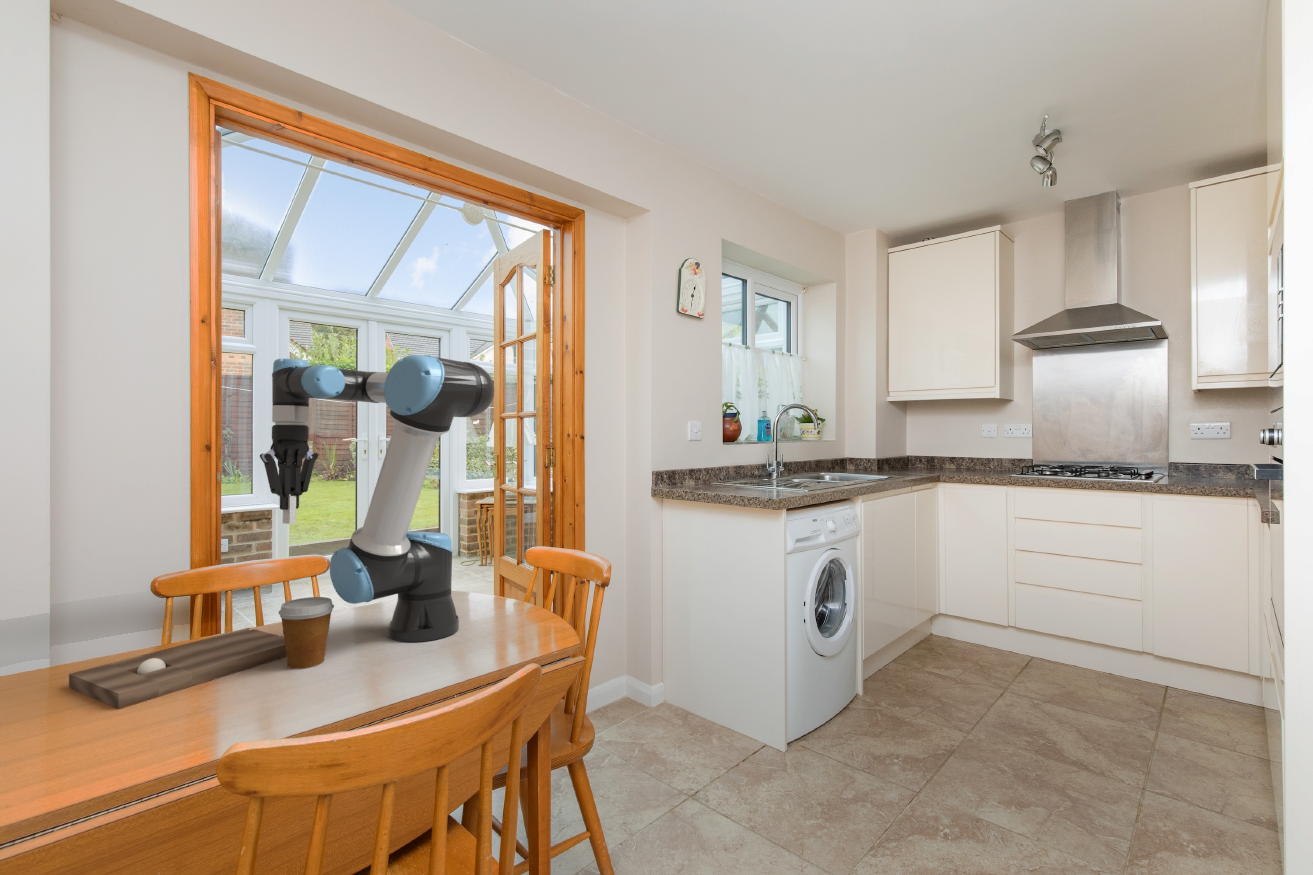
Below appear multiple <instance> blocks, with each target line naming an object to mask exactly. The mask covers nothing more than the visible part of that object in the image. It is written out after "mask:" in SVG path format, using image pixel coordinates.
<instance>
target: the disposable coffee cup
mask: <svg viewBox="0 0 1313 875" xmlns="http://www.w3.org/2000/svg"><path fill="white" fill-rule="evenodd" d="M334 608H335V605H334V604H333V601H332V599H331V598H329V597H325V596H311V597H302V598H296V599H292V600H288V601H286V602H283V603H282V604H281V606H280V610H279V611H278V615H279V617H280V618H281V624H282V625H281V626H282V633H283V634H282V635H283V637H284V642H285V650H286V657H285V658H286V665H287V668H290V669H294V668H301V669H307V668H313V667H316V666H319V665H321V664H322V663H324V662H325V658H326V657H325V656H326V649H327V645H328V644H327V642H328V638H329V637H328V636H329V630H330V624H331V623H330V622H331V616H332V612H333V609H334ZM312 666H313V667H312Z"/></svg>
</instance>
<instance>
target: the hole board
mask: <svg viewBox="0 0 1313 875" xmlns="http://www.w3.org/2000/svg"><path fill="white" fill-rule="evenodd" d="M249 629H253V630H249ZM152 658H157V659H161V660H162V661H163V662H164V663H165V665H166V668H163V669H160V670H156V671H152V672H149V673H145V674H142V675H138V674H137V670H138V668H139V666H140V665H141V664H142V663H143V662H144V661H146V660H148V659H152ZM282 658H287V657H286V650H285V642H284V635H283V636H282V635H279V634H275V633H271V632H266V631H262V630H259V629H255V628H250V627H247V628H241V629H239V630H235V631H231V632H230V631H229V632H227V633H223V634H219V635H216V636H211V637H207V638H203V639H201V640H196V641H191V642H188V643H185V644H180V645H176V646H172V647H169V648H165V649H161V650H157V651H153V652H149V653H145V654H141V655H138V656H134V657H130V658H126V659H122V660H118V661H117V660H116V661H113V662H109V663H105V664H103V665H99V666H95V667H91V668H87V669H86V668H85V669H83V670H79V671H76V672H72V673H71V672H70V673H68V689H70V690H73V691H75V692H77V693H80V694H83V695H84V696H86V697H89V698H91V699H93V700H96V701H98V702H101V703H103V704H105V705H108V706H110V707H112V708H115V709H117V710H121V709H124V708H126V707H130V706H133V705H136V704H140V703H142V702H147V701H149V700H151V699H154V698H158V697H161V696H164V695H168V694H171V693H174V692H177V691H180V690H184V689H187V688H190V687H193V685H194V686H197V685H200V684H203V683H206V682H210V681H213V680H216V679H220V678H222V677H225V676H229V675H231V674H234V673H238V672H240V671H245V670H247V669H251V668H254V667H256V666H257V665H258V666H261V665H264V664H267V663H270V662H274V661H277V660H279V659H282ZM260 664H261V665H260ZM215 678H216V679H215ZM209 680H210V681H209Z"/></svg>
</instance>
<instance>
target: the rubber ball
mask: <svg viewBox="0 0 1313 875" xmlns="http://www.w3.org/2000/svg"><path fill="white" fill-rule="evenodd" d="M163 668H166V665H165V663H164V662H163V661H162V660H161V659H157V658H152V659H148V660H146V661H144V662H143V663H142V664H141V665H140V666H139V668H138V670H137V674H138V675H142V674H145V673H149V672H152V671H156V670H160V669H163Z"/></svg>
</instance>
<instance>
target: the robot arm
mask: <svg viewBox="0 0 1313 875" xmlns="http://www.w3.org/2000/svg"><path fill="white" fill-rule="evenodd" d="M272 365H273V366H272V373H271V377H272V378H271V380H272V385H271V386H272V388H271V389H272V392H271V393H272V395H271V396H272V397H271V398H272V405H271V406H272V407H271V408H272V414H271V421H272V423H273V425H272V426H271V440H272V444H271V445H270V449H269V450H268V451H266V452H265V453H261V454H260V455H259V458H260V459H261V461H262V462H263V466H264V469H265V472H266V477H267V481H268V486H269V489H270V493H271V494H273V495H277V496H279V509H280V510H282V524H286V525H291V524H296V523H297V510H299V508H300V496H302V495H303V493H306V492H308V490H309V486H310V482H311V480H312V479H311V478H312V474H313V471H314V466H315V463H316V461H317V460H318V458H319V454H318V453H317V452H313V451H311V449H310V446H309V444H308V441H309V439H310V438H309V436H310V435H309V430H310V428H309V426H308V425H307V424H309V423H310V399H312V400H313V399H316V400H317V399H320V400H321V399H322V400H332V401H333V400H335V401H337V400H338V401H347V402H348V401H350V402H351V401H352V402H363V403H370V404H371V403H372V404H379V403H380V404H381V403H382V404H386V406H387V407H388V408H389V409H390V412H389V416H390V418H391V420H392V421H393V423H394V425H393V428H392V429H393V430H392V432H391V435H390V439H389V442H388V446H387V449H386V452H385V455H384V458H383V462H382V465H381V468H380V471H379V474H378V477H377V480H376V484H375V487H374V490H373V494H372V496H371V500H370V503H369V506H368V510H367V512H366V516H365V519H364V523H363V525H362V526H361V527H360V528H357V529H356V530H354V531H353V532H352V534H351V537H350V540H349V544H348V546H347V547H341V548H339V549H338V550H336V551H334V552H333V554H332V555H331V558H330V560H329V561H330V562H329V575H330V576H329V578H330V580H331V584H332V586H333V588H334V591H335V593H336V594H337V595H338V597H339V598H340V599H341V600H343V601H344V602H346V603H348V604H360V603H370V602H372V601H375V600H379V599H382V598H383V599H384V598H386V597H390V596H394V595H397V602H396V605H395V608H394V611H393V614H392V618H391V620H390V623H389V625H388V637H389V638H390V639H392V640H394V641H400V642H407V643H408V642H411V643H412V642H413V643H414V642H415V643H417V642H428V641H434V640H439V639H442V638H446V637H449V636H451V635H453V634H456V633H457V631H459V630H460V624H459V623H460V618H459V616H458V615H457V612H456V611H457V610H456V607H455V606H456V605H455V604H454V600H453V597H452V573H453V572H452V570H453V569H452V568H453V551H454V550H453V547H452V546H453V544H452V538H451V536H450V535H449V534H446V533H442V532H432V531H417V530H416V531H414V530H413V531H411V530H410V531H409V528H410V525H411V522H412V519H413V516H414V512H415V510H416V507H417V503H418V501H419V497H420V495H421V492H422V489H423V486H424V483H425V480H426V477H427V474H428V471H429V467H430V464H431V461H432V459H433V454H434V452H435V449H436V446H437V442H438V440H439V437H440V436H442V435H444V434H446V433H448V432H450V428H451V426H452V423H453V420H454V418H469V417H470V418H471V417H474V416H475V417H476V416H478V415H481V414H482V413H484V412H485V411H486V410H487V409H489V407H490V406H491V404H492V402H493V400H494V397H495V396H494V395H495V385H494V384H495V383H494V381H493V379H492V378H491V375H490V374H489V373H488V372H487V371H486V370H485V369H484V368H483V367H481V366H479V365H477V364H475V363H472V362H467V361H460V360H453V359H448V358H441V357H437V356H432V355H429V354H428V355H427V354H425V355H421V354H419V355H418V354H411V355H406V356H404V357H403V358H400V359H399V360H397V361H396V362H395V363H394V364H393V365H392V366H391V368H390V370H389V371H385V372H384V371H365V370H364V371H363V370H353V369H352V370H351V369H347V368H339V367H336V366H334V365H332V364H331V365H330V364H322V363H321V364H316V365H311V366H310V363H309V362H308V361H307V360H304V359H298V358H277V359H275V360H274V361H273V364H272ZM275 459H276V460H277V463H276V461H275ZM303 459H304V460H303Z"/></svg>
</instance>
